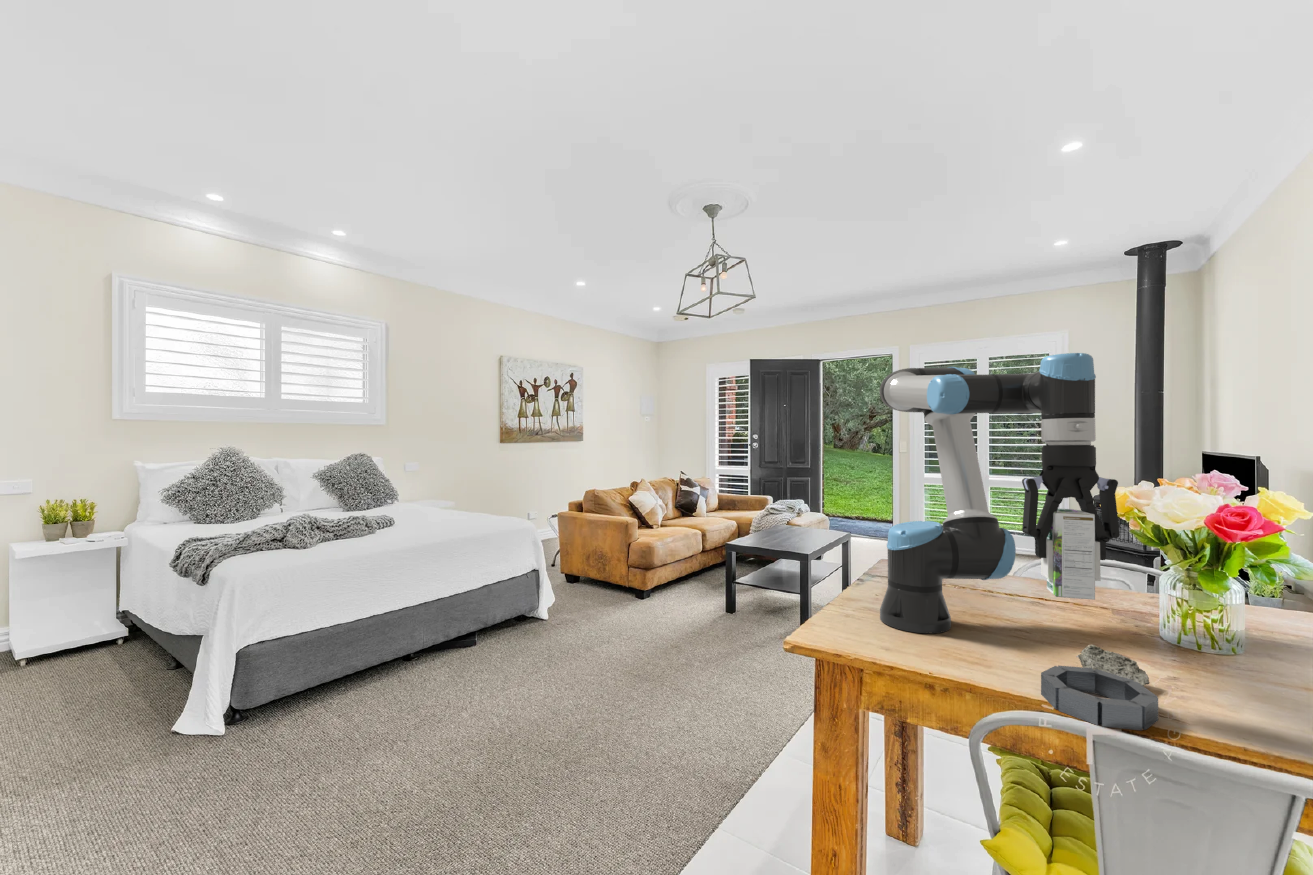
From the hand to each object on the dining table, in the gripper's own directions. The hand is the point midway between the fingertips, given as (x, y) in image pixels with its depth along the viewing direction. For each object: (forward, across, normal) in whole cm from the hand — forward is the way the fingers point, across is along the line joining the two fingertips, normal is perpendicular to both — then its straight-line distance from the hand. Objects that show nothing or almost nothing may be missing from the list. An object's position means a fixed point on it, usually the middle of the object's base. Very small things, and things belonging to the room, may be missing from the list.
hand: (1070, 577), depth 95 cm
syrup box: (+3, 0, 0) cm, 3 cm away
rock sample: (+20, +9, +5) cm, 23 cm away
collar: (+20, +2, -4) cm, 20 cm away
